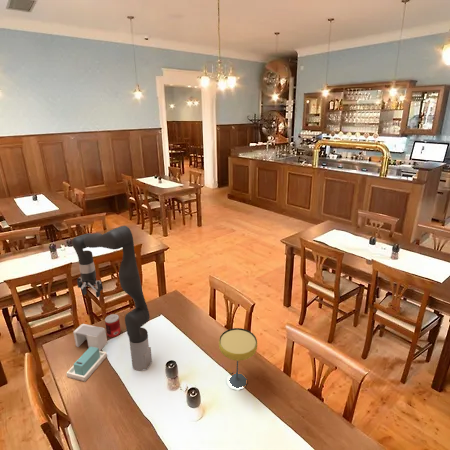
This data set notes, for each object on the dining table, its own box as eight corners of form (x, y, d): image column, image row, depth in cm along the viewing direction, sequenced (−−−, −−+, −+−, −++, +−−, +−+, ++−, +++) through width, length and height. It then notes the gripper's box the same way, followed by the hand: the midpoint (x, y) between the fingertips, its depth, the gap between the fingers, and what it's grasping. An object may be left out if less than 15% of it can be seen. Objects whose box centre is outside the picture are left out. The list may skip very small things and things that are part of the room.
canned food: (122, 329, 190) (120, 314, 186) (117, 338, 182) (115, 322, 179) (110, 328, 190) (108, 313, 187) (104, 337, 183) (102, 321, 179)
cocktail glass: (241, 403, 142) (243, 360, 134) (211, 383, 152) (210, 342, 144) (262, 378, 156) (264, 337, 147) (232, 361, 166) (233, 322, 157)
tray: (107, 356, 169) (106, 352, 168) (85, 381, 153) (84, 377, 152) (90, 352, 172) (89, 348, 171) (67, 376, 156) (66, 372, 155)
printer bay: (107, 342, 179) (105, 327, 175) (99, 351, 172) (96, 336, 169) (85, 337, 183) (82, 323, 179) (76, 346, 176) (73, 331, 172)
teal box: (100, 357, 168) (98, 347, 165) (83, 375, 156) (81, 365, 153) (92, 355, 169) (90, 345, 166) (75, 373, 157) (73, 363, 155)
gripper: (103, 268, 170) (106, 293, 175) (81, 264, 173) (85, 290, 179) (94, 274, 163) (98, 301, 169) (71, 271, 166) (76, 297, 172)
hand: (91, 295), depth 174 cm, fingers open, 8 cm apart
